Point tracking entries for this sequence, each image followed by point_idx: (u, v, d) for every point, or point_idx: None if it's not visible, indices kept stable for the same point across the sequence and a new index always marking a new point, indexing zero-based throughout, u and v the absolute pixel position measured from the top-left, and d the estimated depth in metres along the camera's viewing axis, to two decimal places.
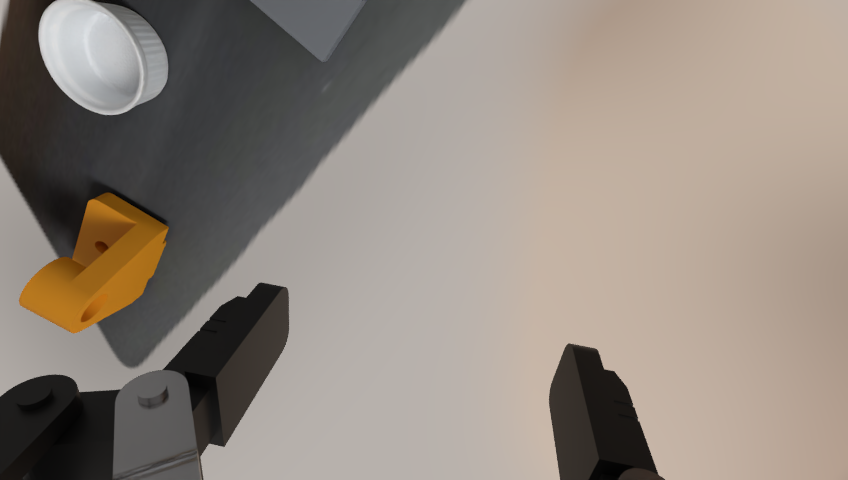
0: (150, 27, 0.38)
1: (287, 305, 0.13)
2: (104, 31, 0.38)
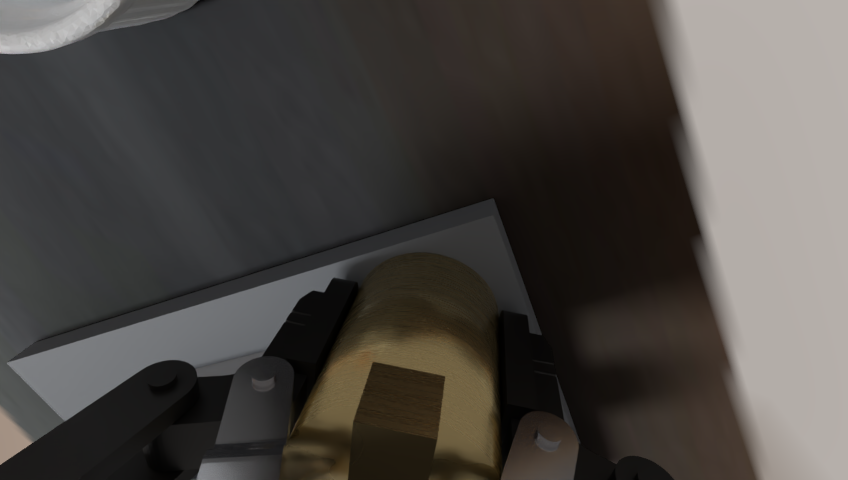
0: None
1: None
2: None
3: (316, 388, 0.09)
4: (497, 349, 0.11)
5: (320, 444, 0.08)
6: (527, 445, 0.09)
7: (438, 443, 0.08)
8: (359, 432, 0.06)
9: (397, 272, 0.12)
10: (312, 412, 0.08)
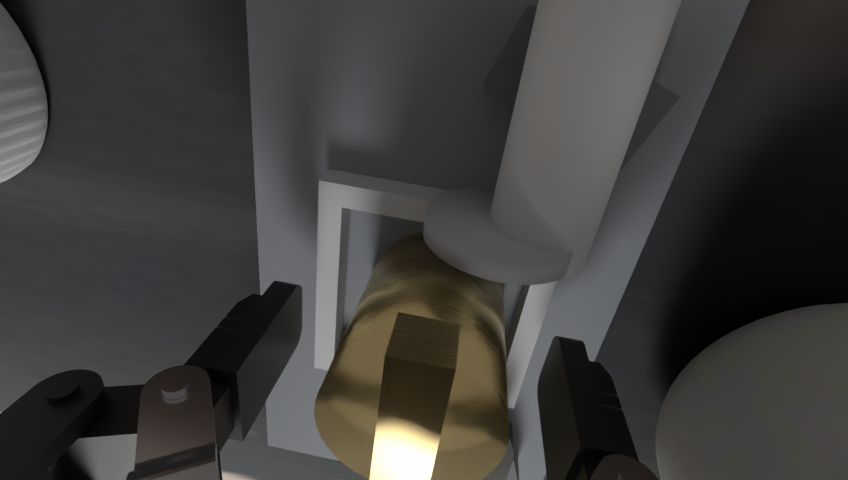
0: (40, 120, 0.15)
1: (301, 303, 0.13)
2: None
3: (343, 345, 0.10)
4: (502, 317, 0.12)
5: (349, 391, 0.10)
6: None
7: (453, 386, 0.09)
8: (389, 365, 0.07)
9: (411, 248, 0.13)
10: (342, 362, 0.09)
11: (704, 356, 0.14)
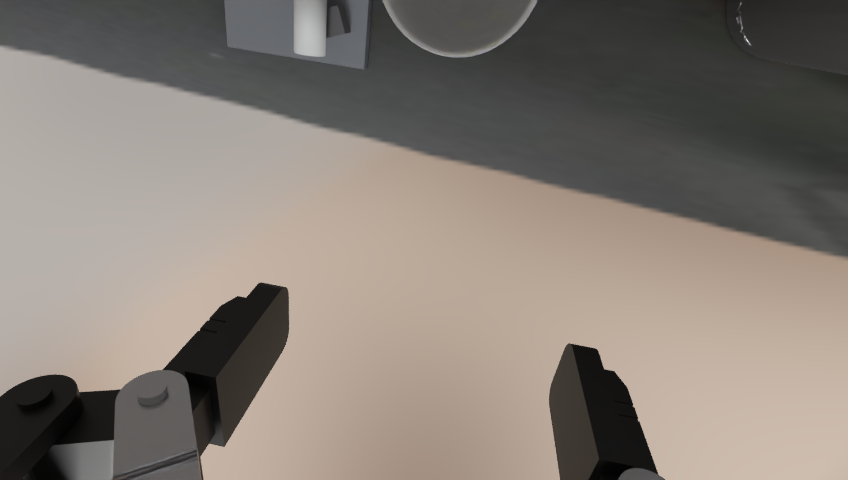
0: None
1: (287, 305, 0.13)
2: None
3: None
4: None
5: None
6: None
7: None
8: None
9: None
10: None
11: None
